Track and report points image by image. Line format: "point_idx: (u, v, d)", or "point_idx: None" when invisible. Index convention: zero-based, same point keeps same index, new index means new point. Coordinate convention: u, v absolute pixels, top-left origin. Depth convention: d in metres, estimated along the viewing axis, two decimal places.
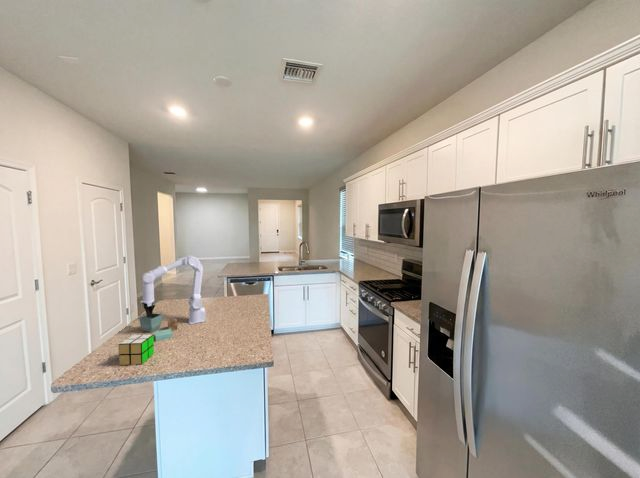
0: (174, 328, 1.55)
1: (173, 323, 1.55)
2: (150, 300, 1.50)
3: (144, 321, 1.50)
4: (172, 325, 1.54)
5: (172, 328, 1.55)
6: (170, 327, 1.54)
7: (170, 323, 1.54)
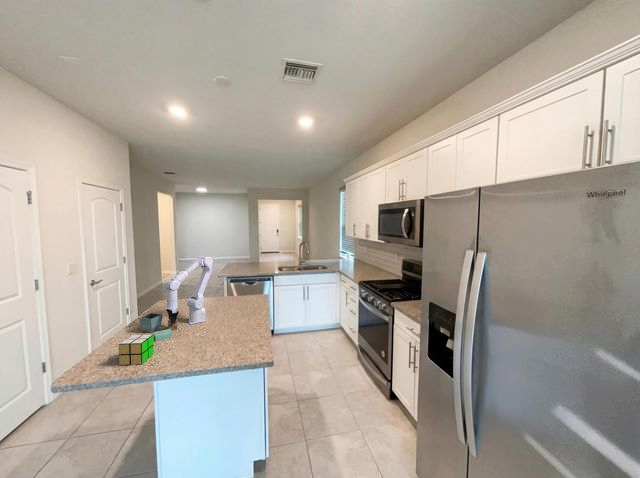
0: (174, 328, 1.55)
1: (173, 323, 1.55)
2: (174, 307, 1.54)
3: (144, 321, 1.50)
4: (172, 325, 1.54)
5: (172, 328, 1.55)
6: (170, 327, 1.54)
7: (170, 323, 1.54)
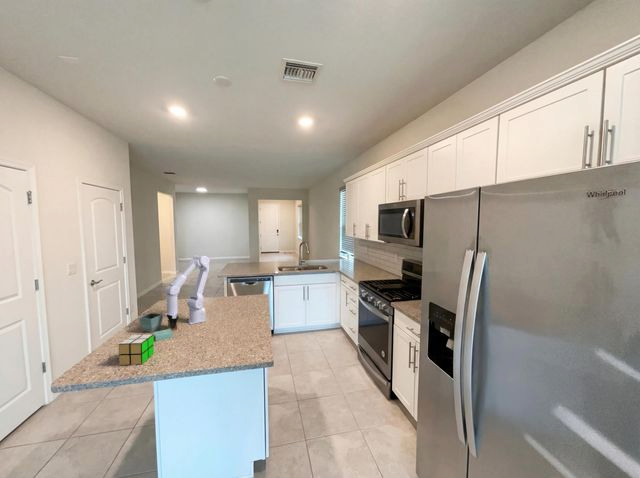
0: (174, 328, 1.55)
1: None
2: (174, 312, 1.54)
3: (144, 321, 1.50)
4: None
5: (172, 328, 1.55)
6: (170, 327, 1.54)
7: None
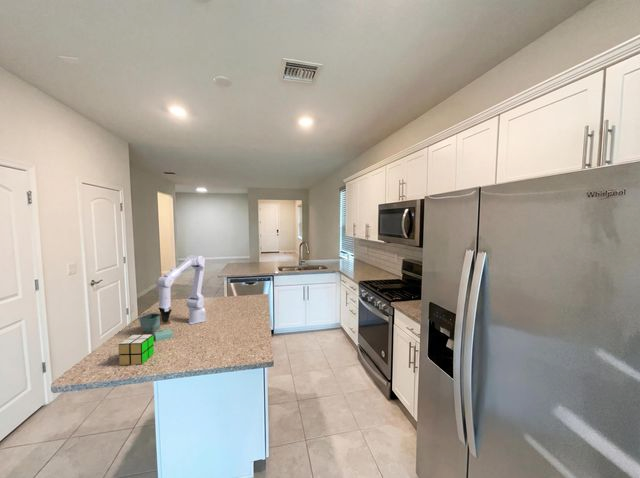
0: (166, 322, 1.46)
1: None
2: (167, 305, 1.45)
3: (144, 321, 1.50)
4: None
5: (164, 322, 1.45)
6: (162, 321, 1.44)
7: None
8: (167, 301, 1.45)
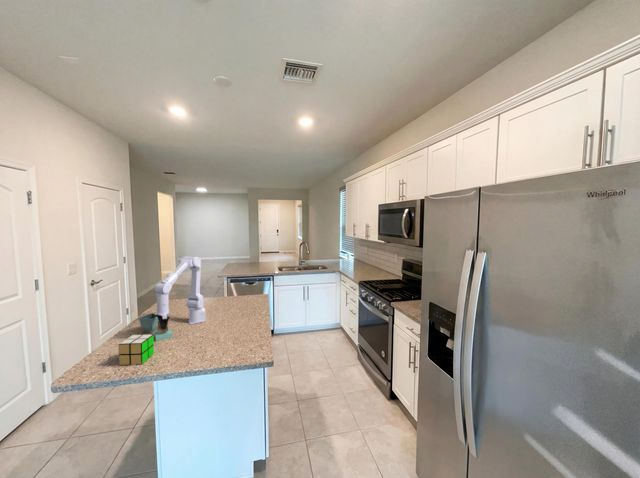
0: (164, 330, 1.43)
1: None
2: (165, 312, 1.43)
3: (144, 321, 1.50)
4: None
5: (162, 330, 1.43)
6: (160, 329, 1.42)
7: None
8: (165, 308, 1.43)
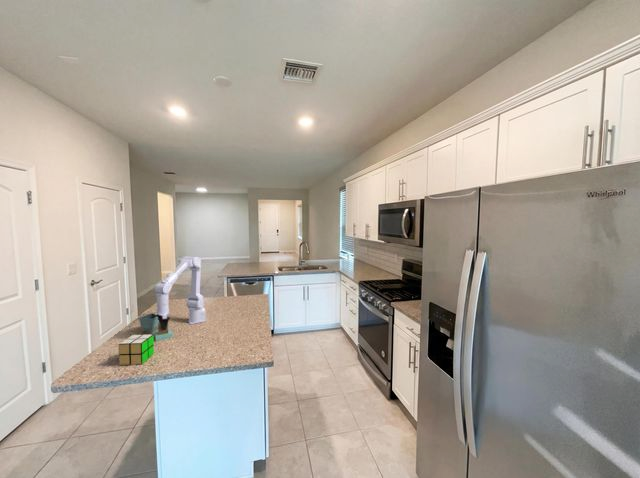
0: (165, 331, 1.43)
1: None
2: (165, 312, 1.43)
3: (144, 321, 1.50)
4: None
5: (162, 331, 1.43)
6: (160, 330, 1.42)
7: (160, 326, 1.42)
8: (165, 308, 1.43)
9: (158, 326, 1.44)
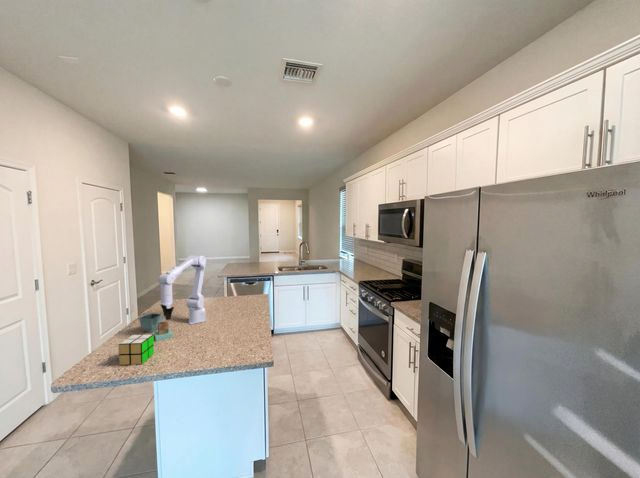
0: (165, 331, 1.44)
1: (164, 326, 1.43)
2: (169, 302, 1.45)
3: (144, 321, 1.50)
4: (163, 328, 1.43)
5: (163, 331, 1.43)
6: (161, 330, 1.42)
7: (161, 326, 1.42)
8: (169, 298, 1.45)
9: (158, 326, 1.44)
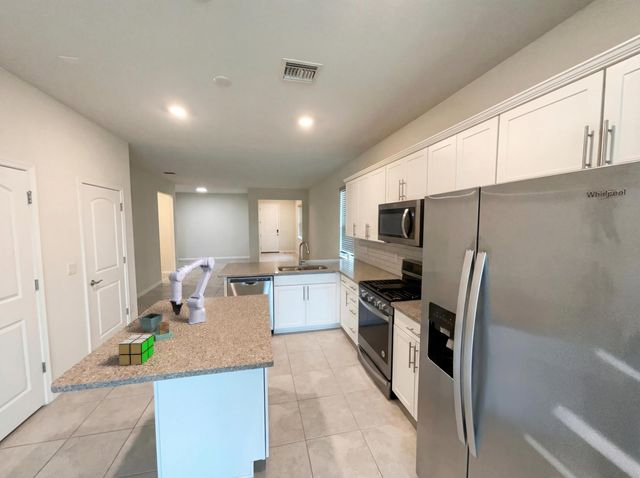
0: (166, 331, 1.44)
1: (165, 326, 1.43)
2: (178, 298, 1.53)
3: (144, 321, 1.50)
4: (163, 328, 1.43)
5: (163, 331, 1.43)
6: (161, 330, 1.42)
7: (161, 326, 1.42)
8: (178, 294, 1.53)
9: (159, 326, 1.44)
